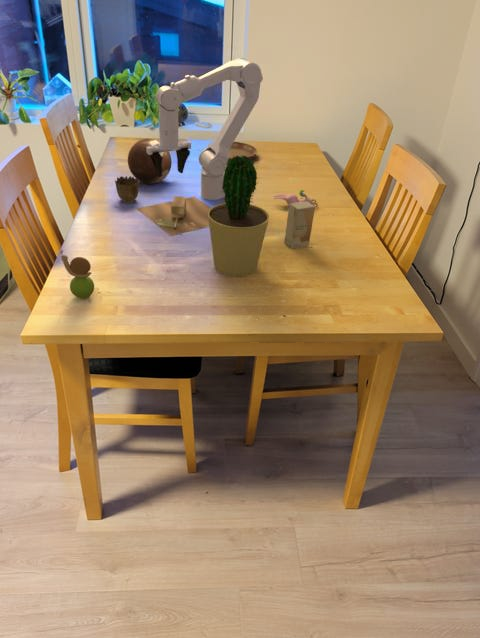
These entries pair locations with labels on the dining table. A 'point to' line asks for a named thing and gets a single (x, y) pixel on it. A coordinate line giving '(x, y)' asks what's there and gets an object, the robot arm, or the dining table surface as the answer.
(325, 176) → the dining table surface
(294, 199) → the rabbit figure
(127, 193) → the cup
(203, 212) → the brown flat square board
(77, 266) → the snail figurine
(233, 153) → the plant saucer
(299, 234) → the skincare box
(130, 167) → the wooden sphere
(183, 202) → the peg key
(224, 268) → the potted cactus
